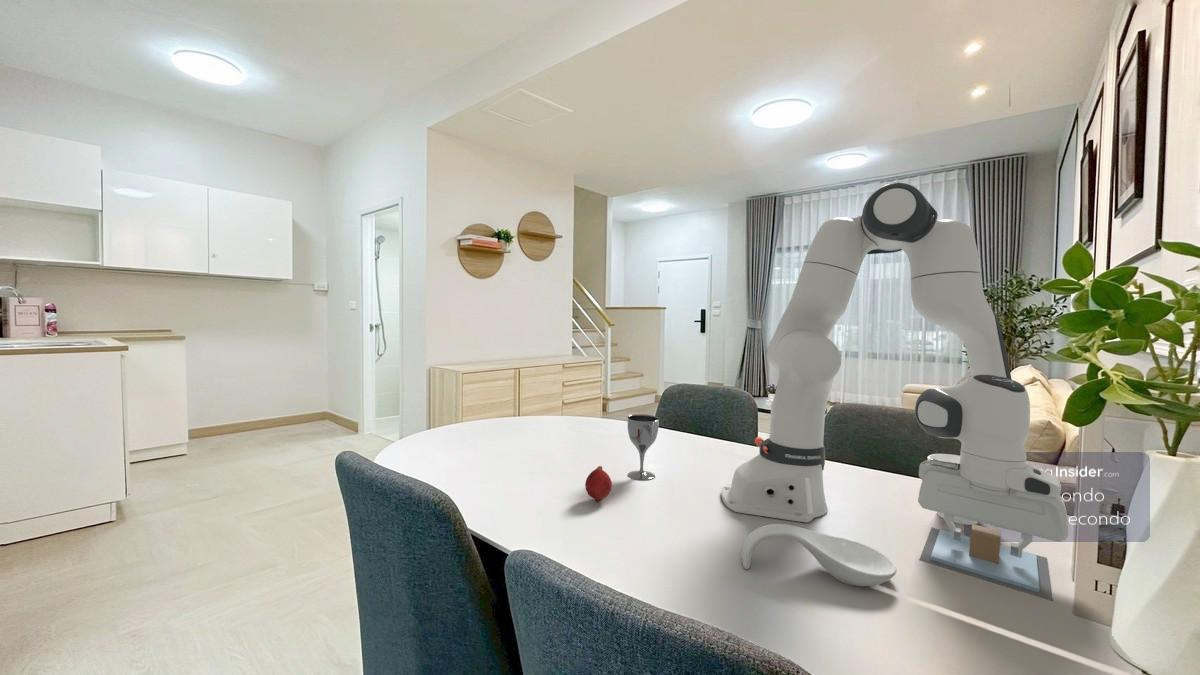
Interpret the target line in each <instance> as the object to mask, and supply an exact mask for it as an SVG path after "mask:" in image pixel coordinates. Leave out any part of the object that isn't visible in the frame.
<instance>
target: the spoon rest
mask: <svg viewBox="0 0 1200 675" xmlns="http://www.w3.org/2000/svg"><path fill="white" fill-rule="evenodd" d="M776 537H785V538H789V539H791V540H794V541H796V542H797V543H799V544H800V545H802V546H803V547H804V548H805V549H806V550H807V551H808V553H810V554H811V555H812V556H813V557H814V558H815V560H816V561H817V562H818V563H819V564H820V566H822V567H823V569H824V570H826V571H827V572H828V573H829V574H830V575H831V576H832V577H833V578H834V577H835V579H836V580H837V579H838V580H837V581H839V580H840V581H839V582H841V581H843V582H842V583H844V582H845V583H844V584H846V583H848V584H847V585H849V584H852V585H851V586H854V585H857V586H856V587H875V586H878V585H882V584H885V583H886V582H888V581H890V580H891V579H892V578H894V576H895V575H896V574H897V571H898V570H897V566H896V565H895V563H894V562H893V560H892V559H890V558H889V557H888V556H887V555H886V554H884V553H882V552H880V551H879V550H877V549H875V548H873V547H871V546H869V545H866V544H864V543H861V542H858V541H855V540H852V539H848V538H844V537H839V536H836V535H835V536H834V535H830V534H825V533H822V532H818V531H814V530H810V529H808V528H803V527H801V526H797V525H792V524H787V523H786V524H785V523H770V524H766V525H763V526H759V527H757V528H756V529H754V530H753V531H751V532H750V533H749V534H748V535H747V537H746V538H745V540H744V541H743V542H742V546H741V552H740V558H741V562H742V563H741V564H742V566H743V569H745V570H748V569H750V567H751V563H752V557H753V553H754V552H755V549H756V547H758V545H759V544H761V542H763V541H765V540H767V539H771V538H776Z"/></svg>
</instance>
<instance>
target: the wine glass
mask: <svg viewBox="0 0 1200 675" xmlns="http://www.w3.org/2000/svg"><path fill="white" fill-rule="evenodd" d="M659 425H660V419H659V417H658V416H656V415H651V414H644V413H641V414H640V413H639V414H635V413H634V414H630V415H628V416H627V433H628V438H629V440H630V442H631V443H632V445H634V447H635V448H636V449H637V452H638V454H639V462H640V463H639V467H640V468H639V469H638V470H632V471H630V472H627V477H628V478H630V479H632V480H636V481H640V482H641V481H644V482H645V481H646V482H647V481H651V480H654V479H655V478H656V474H654V473H653V472H651V471H647V470H644V462H645V461H644V460H645V456H646V453H647V451H648V449H649V448H651V446H652V445H653V444H654V443H655V441H656V440H657V438H658V434H659V427H660V426H659Z"/></svg>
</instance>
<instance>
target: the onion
mask: <svg viewBox="0 0 1200 675" xmlns="http://www.w3.org/2000/svg"><path fill="white" fill-rule="evenodd" d="M612 483H613V482H612V479H611V477H610V475H609V474H608V473H607V472H606V471H604V469H603V466H602V465H599V466H597V467H596V468H595V469H594V470H592V471H591V472H590V473H589V474H588V476H587V477H586V480H585V484H584V487H585V491H586V493H587V495H588V496H589V497H590V498H592V499H593V500H595V501H596V502H599V503H600V502H601V501H602V500H604V499H606V497H607V496H608V495H610V492H612V491H611V490H612V488H613V484H612Z"/></svg>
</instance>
